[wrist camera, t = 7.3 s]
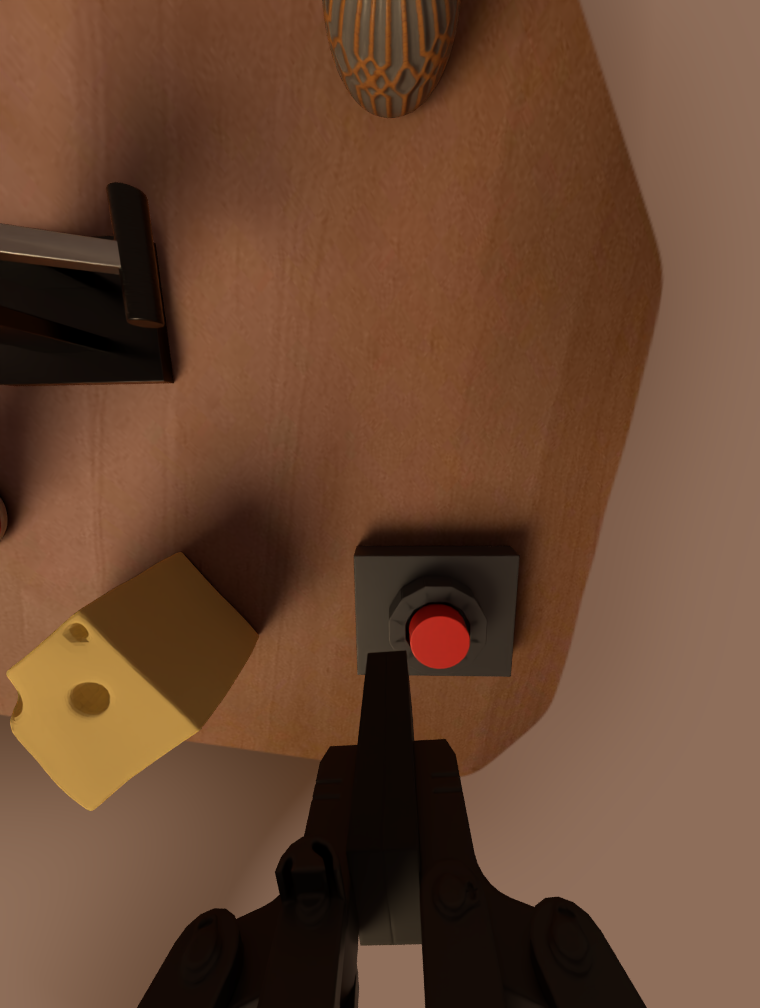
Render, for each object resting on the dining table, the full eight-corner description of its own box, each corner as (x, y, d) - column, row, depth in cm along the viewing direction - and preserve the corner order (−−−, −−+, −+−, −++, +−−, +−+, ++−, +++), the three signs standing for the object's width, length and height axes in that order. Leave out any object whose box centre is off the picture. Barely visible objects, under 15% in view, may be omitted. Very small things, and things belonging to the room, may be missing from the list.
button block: (510, 545, 28) (529, 565, 24) (502, 658, 30) (518, 694, 26) (356, 545, 28) (350, 565, 24) (359, 657, 30) (355, 691, 26)
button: (466, 603, 25) (471, 616, 23) (464, 653, 26) (469, 669, 24) (409, 602, 25) (410, 615, 24) (408, 653, 26) (410, 668, 24)
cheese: (96, 613, 30) (-45, 703, 21) (185, 541, 29) (78, 601, 19) (181, 698, 32) (87, 819, 22) (270, 635, 30) (211, 735, 20)
